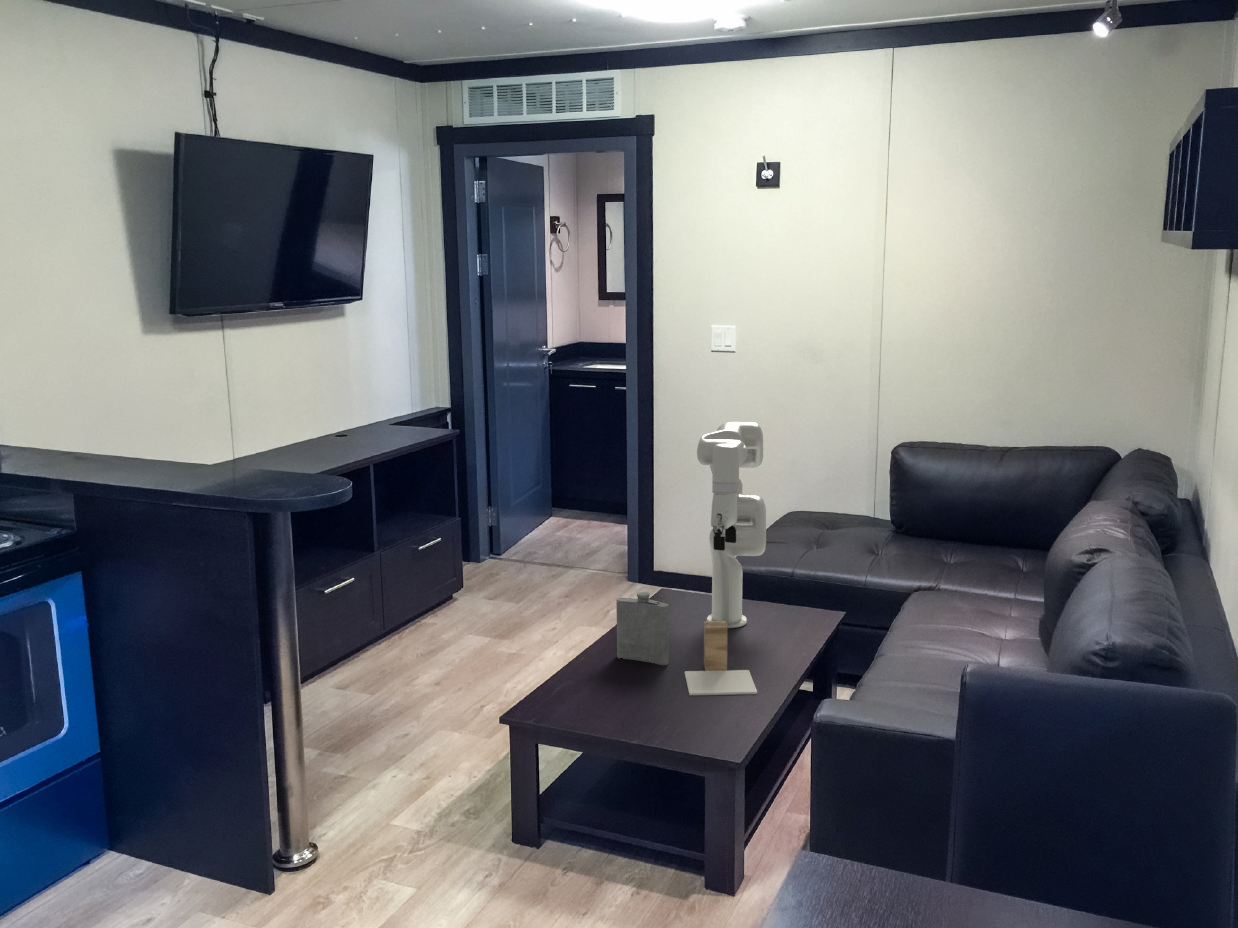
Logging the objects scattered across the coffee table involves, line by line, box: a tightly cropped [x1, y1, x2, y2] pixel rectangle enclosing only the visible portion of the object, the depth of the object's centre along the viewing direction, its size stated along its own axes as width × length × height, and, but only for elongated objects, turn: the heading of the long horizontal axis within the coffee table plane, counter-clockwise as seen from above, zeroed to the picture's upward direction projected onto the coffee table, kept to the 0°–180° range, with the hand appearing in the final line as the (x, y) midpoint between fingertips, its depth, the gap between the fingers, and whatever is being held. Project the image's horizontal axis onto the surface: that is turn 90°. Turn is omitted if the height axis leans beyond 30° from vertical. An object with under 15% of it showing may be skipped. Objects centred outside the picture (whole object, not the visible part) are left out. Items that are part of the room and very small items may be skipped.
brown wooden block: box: [703, 620, 728, 671], centre depth 297 cm, size 5×6×13 cm
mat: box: [684, 669, 758, 696], centre depth 287 cm, size 15×18×1 cm
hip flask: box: [615, 591, 670, 666], centre depth 303 cm, size 16×4×20 cm, turn 66°
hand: (724, 546), depth 302 cm, fingers open, 9 cm apart
